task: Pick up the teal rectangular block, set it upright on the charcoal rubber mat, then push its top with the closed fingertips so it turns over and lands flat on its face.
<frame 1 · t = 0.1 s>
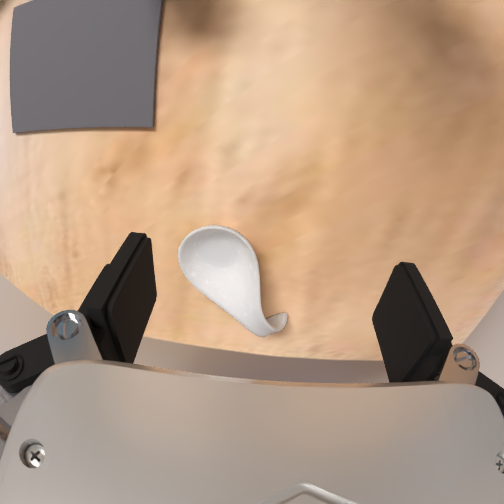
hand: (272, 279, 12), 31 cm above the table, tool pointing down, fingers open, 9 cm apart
mat: (73, 55, 31), on the table
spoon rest: (241, 273, 52), on the table
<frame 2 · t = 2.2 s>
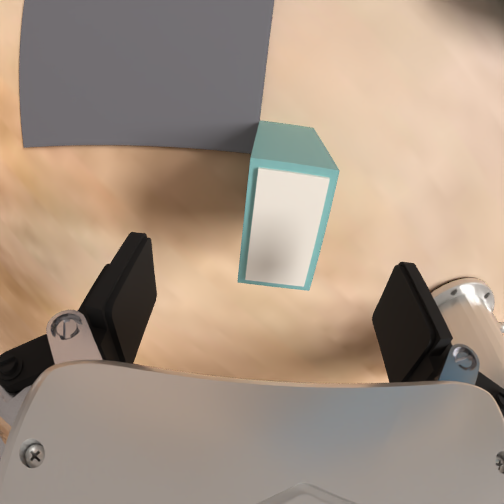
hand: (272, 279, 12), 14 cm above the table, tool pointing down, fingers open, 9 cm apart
teal rectangular block: (280, 167, 24), on the table
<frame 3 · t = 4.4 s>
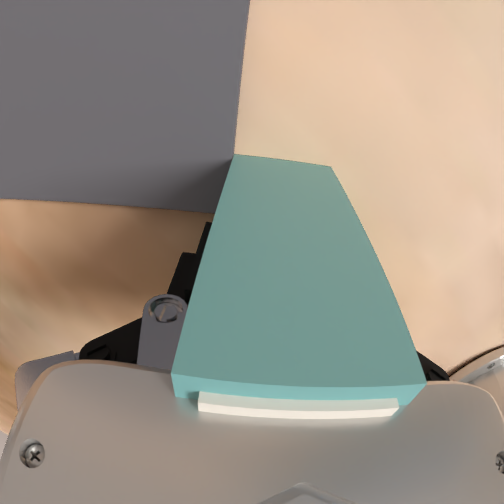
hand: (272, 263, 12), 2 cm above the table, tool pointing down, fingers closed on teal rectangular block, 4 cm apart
teal rectangular block: (272, 232, 14), on the table, touching gripper
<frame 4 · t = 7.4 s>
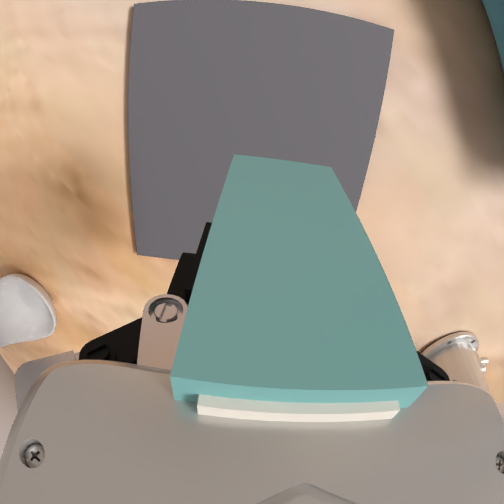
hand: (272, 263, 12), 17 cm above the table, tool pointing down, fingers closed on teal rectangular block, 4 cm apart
mat: (247, 144, 27), on the table
teal rectangular block: (272, 233, 14), point 15 cm above the table, touching gripper
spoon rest: (23, 304, 42), on the table
when the fingers open (4 cm above the table, at t = 10.4 s): teal rectangular block stays where it is, resting on mat.
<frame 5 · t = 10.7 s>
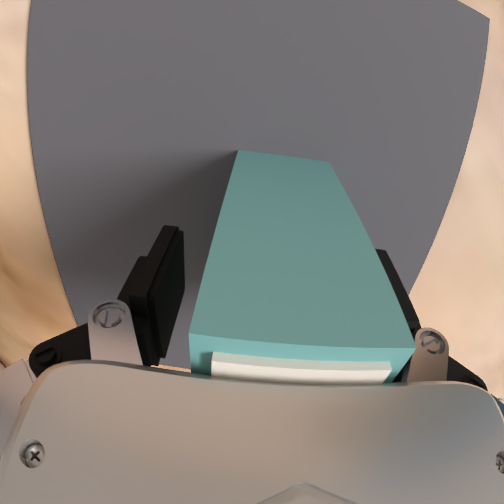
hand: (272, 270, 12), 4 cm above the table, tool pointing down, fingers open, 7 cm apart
mat: (231, 213, 15), on the table
teal rectangular block: (273, 225, 15), point 1 cm above the table, touching mat
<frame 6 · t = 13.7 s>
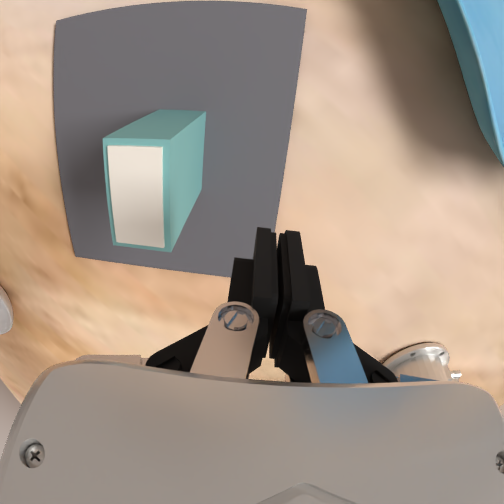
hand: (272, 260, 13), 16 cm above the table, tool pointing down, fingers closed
mat: (159, 146, 26), on the table
teal rectangular block: (180, 149, 25), point 1 cm above the table, touching mat
casserole dish: (500, 8, 15), on the table
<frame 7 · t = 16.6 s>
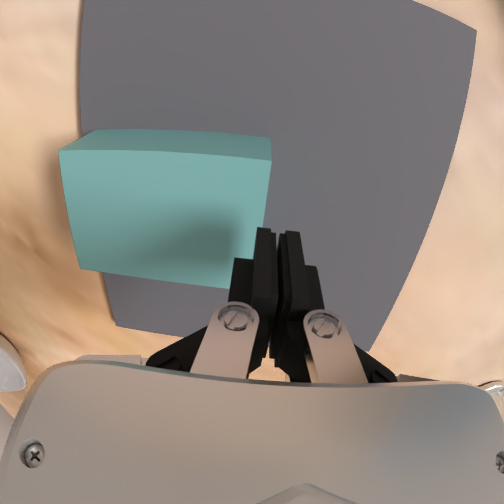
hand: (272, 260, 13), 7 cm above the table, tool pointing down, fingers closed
mat: (262, 192, 18), on the table
teal rectangular block: (262, 213, 16), point 3 cm above the table, tilted 90°, touching mat
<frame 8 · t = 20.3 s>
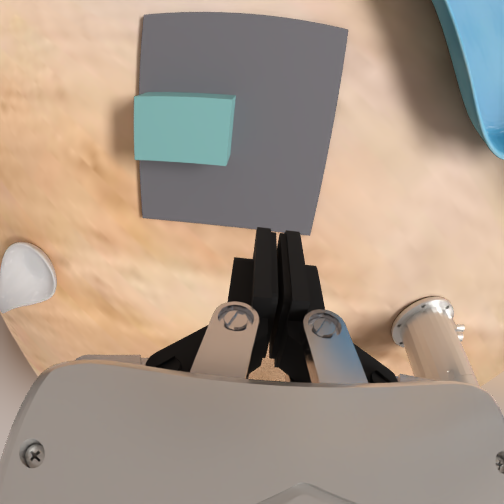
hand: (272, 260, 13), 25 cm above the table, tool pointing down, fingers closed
mat: (233, 124, 33), on the table
teal rectangular block: (231, 129, 31), point 3 cm above the table, tilted 90°, touching mat
casserole dish: (488, 26, 22), on the table
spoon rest: (27, 273, 48), on the table
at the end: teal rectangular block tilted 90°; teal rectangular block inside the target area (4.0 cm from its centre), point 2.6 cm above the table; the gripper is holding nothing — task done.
